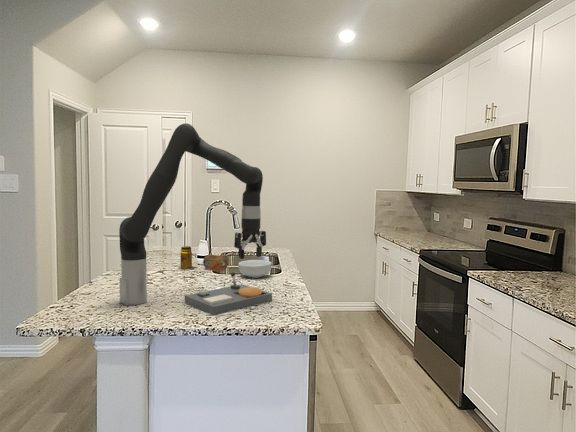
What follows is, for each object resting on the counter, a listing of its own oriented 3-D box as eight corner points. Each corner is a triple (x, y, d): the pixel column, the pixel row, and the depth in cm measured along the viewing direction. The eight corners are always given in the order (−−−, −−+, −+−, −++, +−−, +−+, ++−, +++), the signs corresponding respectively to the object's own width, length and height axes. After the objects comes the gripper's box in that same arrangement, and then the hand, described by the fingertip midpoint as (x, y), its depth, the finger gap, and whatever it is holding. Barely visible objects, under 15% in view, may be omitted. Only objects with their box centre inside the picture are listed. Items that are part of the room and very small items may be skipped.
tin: (202, 269, 227) (202, 253, 226) (206, 268, 230) (206, 253, 229) (225, 272, 220) (225, 256, 219) (228, 271, 223) (228, 255, 222)
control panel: (213, 315, 149) (213, 303, 148) (184, 302, 163) (184, 292, 163) (272, 300, 168) (272, 290, 168) (241, 291, 182) (241, 281, 182)
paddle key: (211, 307, 152) (211, 301, 151) (202, 304, 155) (202, 298, 155) (232, 302, 158) (232, 297, 158) (224, 299, 162) (224, 294, 162)
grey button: (201, 296, 161) (201, 292, 161) (196, 294, 164) (196, 290, 164) (209, 295, 164) (209, 291, 164) (204, 293, 166) (204, 289, 166)
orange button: (248, 300, 161) (248, 294, 161) (234, 295, 168) (234, 289, 168) (266, 296, 167) (266, 290, 167) (251, 291, 174) (251, 286, 174)
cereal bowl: (254, 271, 224) (254, 258, 223) (278, 276, 213) (278, 262, 213) (231, 276, 211) (231, 262, 210) (255, 281, 200) (255, 267, 199)
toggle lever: (234, 285, 173) (232, 272, 174) (232, 285, 175) (229, 273, 176) (238, 284, 175) (235, 271, 176) (235, 285, 176) (233, 272, 177)
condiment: (177, 269, 226) (177, 247, 225) (186, 266, 234) (186, 245, 233) (188, 270, 224) (188, 248, 223) (197, 267, 232) (197, 246, 231)
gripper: (242, 218, 157) (241, 261, 158) (270, 217, 167) (270, 257, 168) (230, 217, 163) (230, 258, 164) (258, 215, 173) (258, 254, 174)
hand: (250, 257), depth 166 cm, fingers open, 8 cm apart
